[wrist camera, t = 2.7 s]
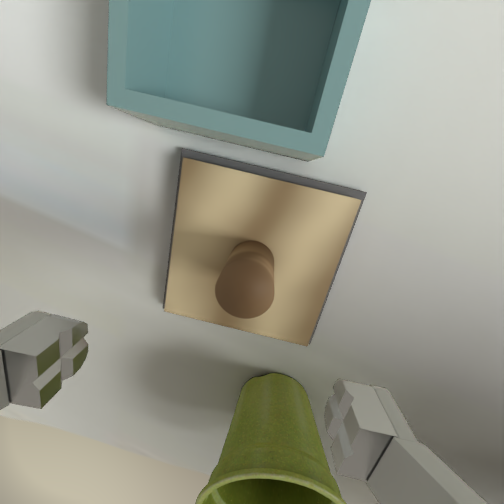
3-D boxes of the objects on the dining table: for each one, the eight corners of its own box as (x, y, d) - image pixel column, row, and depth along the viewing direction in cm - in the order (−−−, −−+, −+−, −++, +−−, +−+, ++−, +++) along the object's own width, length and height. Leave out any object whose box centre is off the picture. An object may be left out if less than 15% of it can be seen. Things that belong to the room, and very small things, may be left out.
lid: (356, 198, 15) (397, 211, 10) (305, 337, 19) (317, 398, 14) (188, 158, 15) (146, 151, 10) (169, 304, 19) (131, 352, 14)
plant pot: (209, 414, 23) (174, 546, 15) (242, 340, 20) (221, 455, 12) (298, 446, 24) (312, 593, 15) (344, 378, 21) (392, 515, 12)
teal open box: (366, -44, 12) (425, -180, 8) (308, 161, 15) (323, 156, 11) (175, -88, 12) (114, -251, 8) (157, 125, 16) (106, 104, 11)
